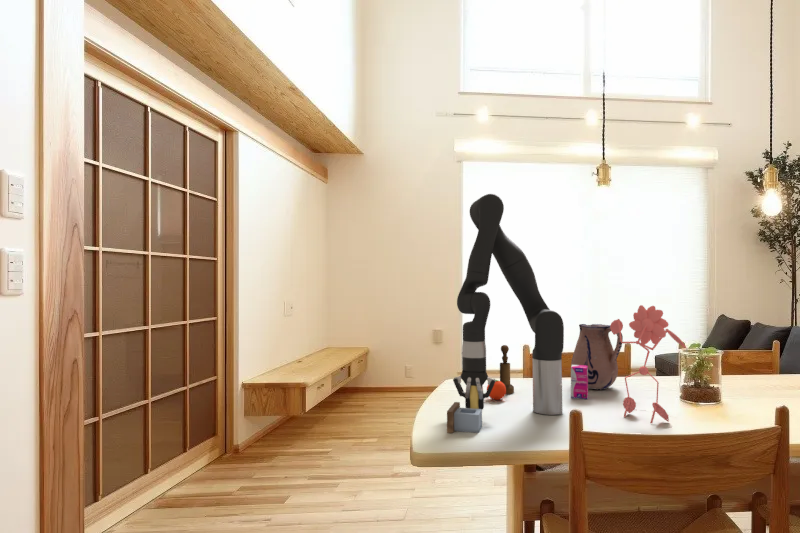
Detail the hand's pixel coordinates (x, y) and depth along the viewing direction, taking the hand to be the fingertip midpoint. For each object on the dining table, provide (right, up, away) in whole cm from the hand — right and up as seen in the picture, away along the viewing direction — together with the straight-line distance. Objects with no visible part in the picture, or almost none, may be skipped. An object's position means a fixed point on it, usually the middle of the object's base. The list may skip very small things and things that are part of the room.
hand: (474, 410), depth 166 cm
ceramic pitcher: (+55, -3, +43) cm, 70 cm away
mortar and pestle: (+17, -3, +37) cm, 41 cm away
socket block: (-4, -2, -13) cm, 13 cm away
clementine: (+11, -3, +25) cm, 28 cm away
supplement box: (+42, -3, +27) cm, 50 cm away
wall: (-8, -2, -11) cm, 14 cm away
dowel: (0, -2, 0) cm, 2 cm away
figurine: (+55, -2, -1) cm, 55 cm away
